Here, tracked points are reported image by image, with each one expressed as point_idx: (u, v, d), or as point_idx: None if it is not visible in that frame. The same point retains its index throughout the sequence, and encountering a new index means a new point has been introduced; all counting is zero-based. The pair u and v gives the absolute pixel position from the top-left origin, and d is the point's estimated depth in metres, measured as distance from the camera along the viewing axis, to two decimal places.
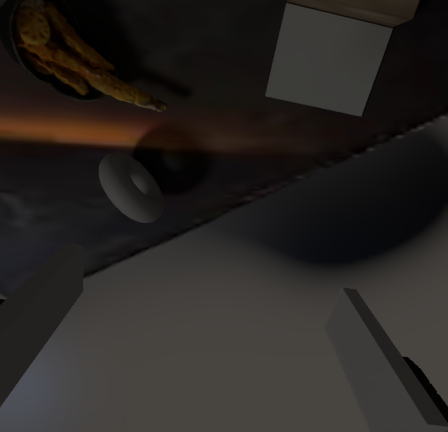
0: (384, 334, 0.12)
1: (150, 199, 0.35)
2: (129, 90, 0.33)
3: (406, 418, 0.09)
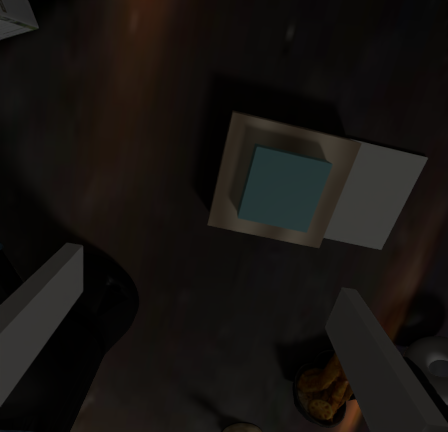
0: (384, 334, 0.12)
1: None
2: None
3: (406, 418, 0.09)
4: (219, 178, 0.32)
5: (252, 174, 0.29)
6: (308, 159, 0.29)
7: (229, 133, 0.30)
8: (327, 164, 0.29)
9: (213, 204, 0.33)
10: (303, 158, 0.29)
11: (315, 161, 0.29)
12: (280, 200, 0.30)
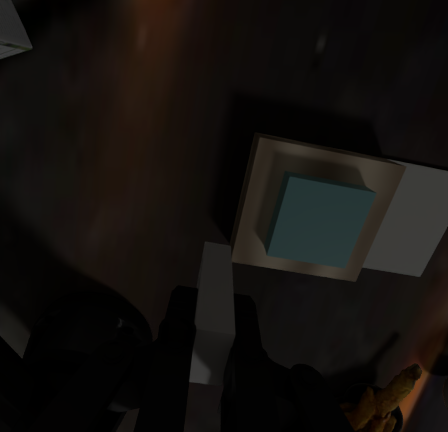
0: (229, 276, 0.13)
1: None
2: (398, 391, 0.39)
3: None
4: (244, 210, 0.28)
5: (284, 208, 0.26)
6: (348, 188, 0.25)
7: (255, 161, 0.26)
8: (370, 193, 0.25)
9: (237, 239, 0.29)
10: (343, 187, 0.25)
11: (356, 190, 0.25)
12: (315, 235, 0.27)
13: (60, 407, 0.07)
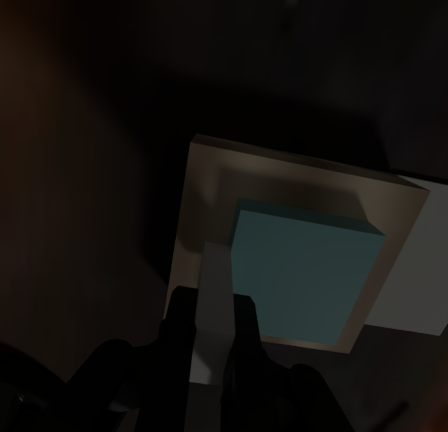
0: (229, 276, 0.13)
1: None
2: None
3: None
4: (175, 255, 0.18)
5: (235, 258, 0.16)
6: (340, 229, 0.15)
7: (186, 180, 0.16)
8: (376, 237, 0.15)
9: (169, 296, 0.19)
10: (330, 228, 0.15)
11: (353, 232, 0.15)
12: (288, 298, 0.17)
13: (60, 407, 0.07)
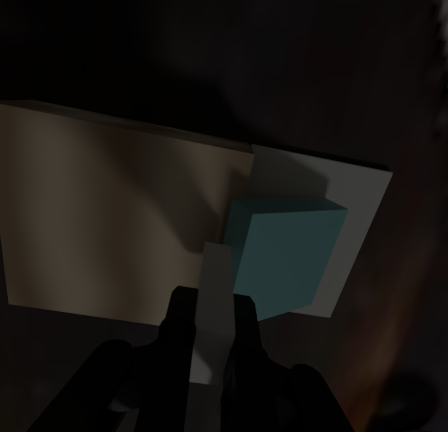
0: (229, 276, 0.13)
1: None
2: None
3: None
4: (1, 226, 0.17)
5: (245, 261, 0.16)
6: (322, 212, 0.17)
7: None
8: (343, 211, 0.18)
9: (7, 270, 0.18)
10: (316, 212, 0.17)
11: (330, 212, 0.18)
12: (283, 281, 0.18)
13: (60, 407, 0.07)
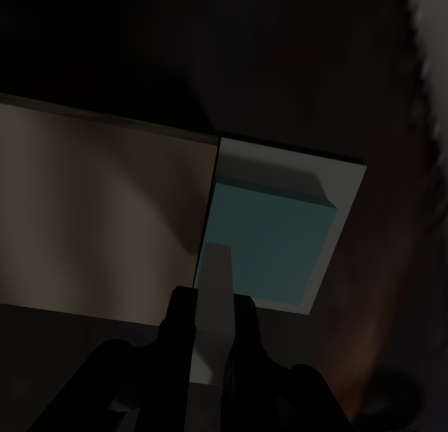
0: (230, 276, 0.13)
1: None
2: None
3: None
4: None
5: (212, 225, 0.19)
6: (299, 202, 0.18)
7: None
8: (329, 209, 0.18)
9: None
10: (291, 200, 0.18)
11: (310, 205, 0.18)
12: (257, 262, 0.20)
13: (60, 407, 0.07)
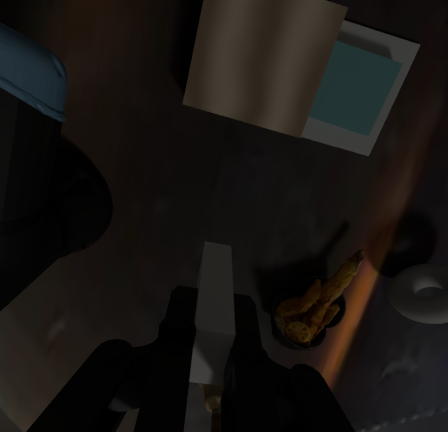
0: (229, 276, 0.13)
1: None
2: (342, 276, 0.40)
3: None
4: (195, 45, 0.30)
5: (327, 70, 0.32)
6: (381, 57, 0.31)
7: None
8: (398, 63, 0.31)
9: (189, 78, 0.31)
10: (376, 55, 0.31)
11: (387, 59, 0.31)
12: (348, 99, 0.33)
13: (60, 407, 0.07)
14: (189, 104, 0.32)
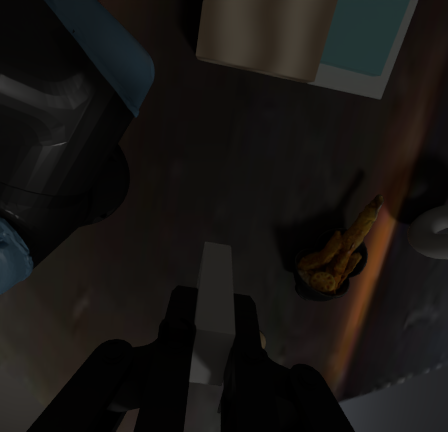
0: (229, 276, 0.13)
1: None
2: (362, 223, 0.41)
3: None
4: None
5: (336, 9, 0.32)
6: None
7: None
8: None
9: (200, 27, 0.31)
10: None
11: None
12: (359, 38, 0.33)
13: (60, 407, 0.07)
14: (202, 55, 0.32)
